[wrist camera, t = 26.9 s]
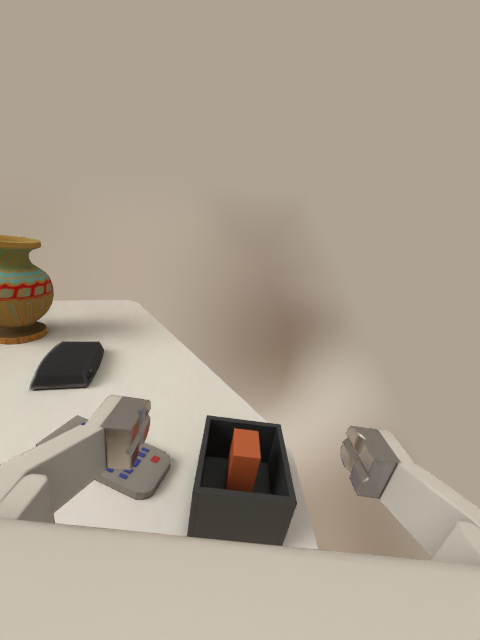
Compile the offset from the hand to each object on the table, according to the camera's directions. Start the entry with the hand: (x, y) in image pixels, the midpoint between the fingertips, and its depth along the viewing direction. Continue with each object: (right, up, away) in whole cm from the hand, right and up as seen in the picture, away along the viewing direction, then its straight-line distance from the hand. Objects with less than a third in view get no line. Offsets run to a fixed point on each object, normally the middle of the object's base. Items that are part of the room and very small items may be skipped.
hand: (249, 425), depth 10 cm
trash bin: (-1, -25, +30) cm, 40 cm away
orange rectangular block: (-1, -25, +30) cm, 39 cm away
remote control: (-25, -21, +33) cm, 46 cm away
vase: (-72, -1, +67) cm, 99 cm away
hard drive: (-47, -9, +56) cm, 73 cm away
